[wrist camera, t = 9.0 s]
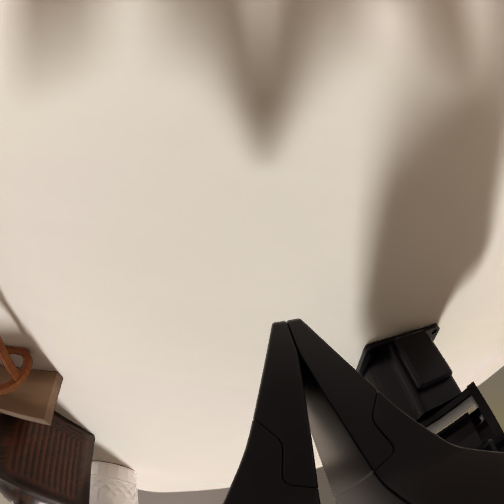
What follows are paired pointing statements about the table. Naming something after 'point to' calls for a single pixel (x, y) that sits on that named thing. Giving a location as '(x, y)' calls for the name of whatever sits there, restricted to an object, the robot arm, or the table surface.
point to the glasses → (16, 377)
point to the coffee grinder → (45, 461)
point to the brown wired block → (32, 396)
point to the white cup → (112, 484)
